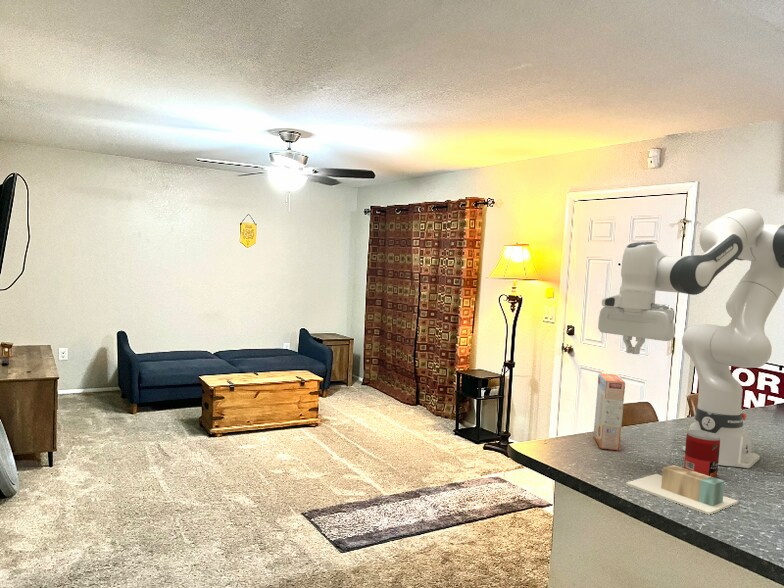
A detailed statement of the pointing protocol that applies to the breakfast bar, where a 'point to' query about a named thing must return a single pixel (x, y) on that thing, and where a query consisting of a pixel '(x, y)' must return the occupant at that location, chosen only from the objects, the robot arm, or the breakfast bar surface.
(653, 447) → the breakfast bar surface
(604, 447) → the cracker box
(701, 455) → the canned food
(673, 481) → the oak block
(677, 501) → the felt mat
